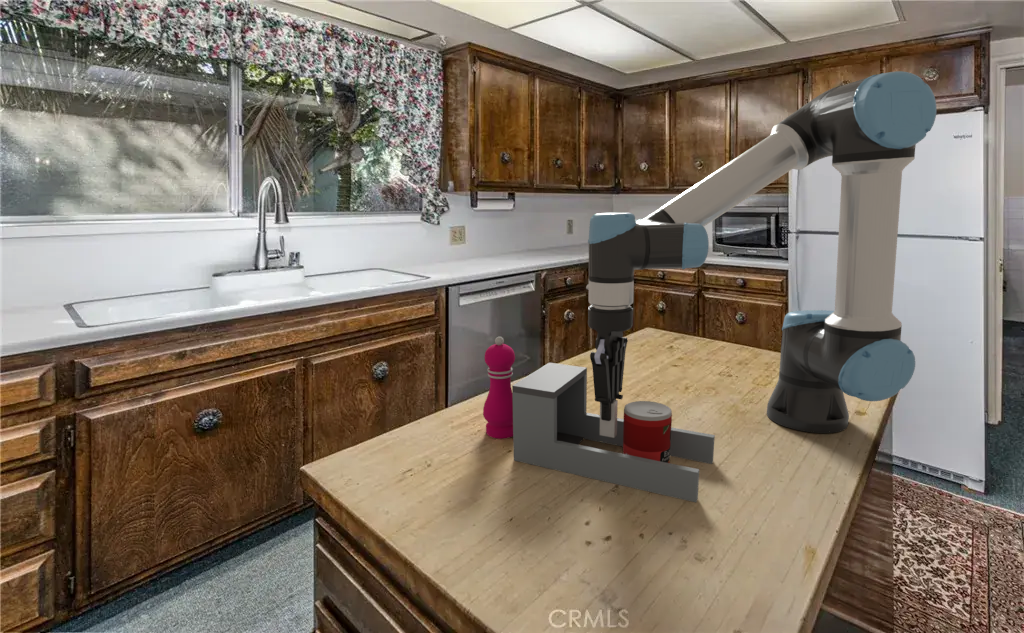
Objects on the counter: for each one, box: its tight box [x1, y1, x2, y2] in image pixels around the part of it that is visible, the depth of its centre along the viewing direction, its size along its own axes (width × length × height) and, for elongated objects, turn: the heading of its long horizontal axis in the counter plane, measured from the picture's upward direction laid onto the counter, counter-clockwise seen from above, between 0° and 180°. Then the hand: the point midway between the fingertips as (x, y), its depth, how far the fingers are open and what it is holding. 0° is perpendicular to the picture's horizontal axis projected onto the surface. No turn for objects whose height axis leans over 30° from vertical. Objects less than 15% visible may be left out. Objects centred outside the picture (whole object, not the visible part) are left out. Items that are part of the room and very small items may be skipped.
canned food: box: [622, 400, 673, 463], centre depth 98 cm, size 8×8×11 cm
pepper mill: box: [482, 336, 516, 440], centre depth 112 cm, size 7×7×20 cm
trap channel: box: [511, 362, 716, 503], centre depth 100 cm, size 32×15×14 cm, turn 62°
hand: (608, 434), depth 101 cm, fingers closed
